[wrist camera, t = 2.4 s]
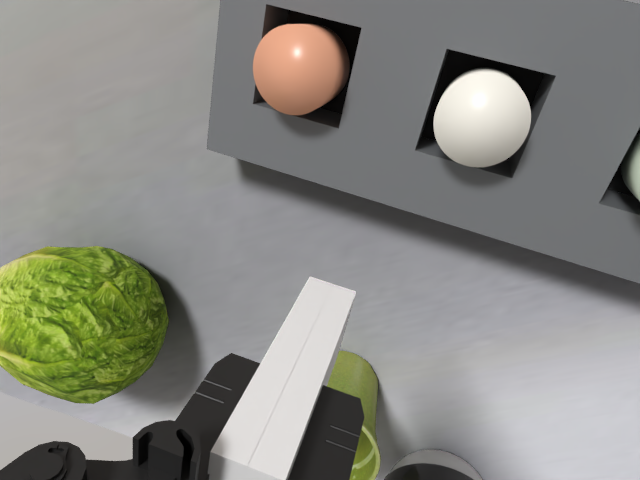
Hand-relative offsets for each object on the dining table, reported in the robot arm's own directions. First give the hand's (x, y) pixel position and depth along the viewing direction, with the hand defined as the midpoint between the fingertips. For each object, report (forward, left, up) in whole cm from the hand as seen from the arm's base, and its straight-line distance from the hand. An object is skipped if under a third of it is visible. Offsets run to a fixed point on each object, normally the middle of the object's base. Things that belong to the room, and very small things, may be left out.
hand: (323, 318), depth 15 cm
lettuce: (+27, +23, -22) cm, 41 cm away
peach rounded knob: (+8, -4, -19) cm, 21 cm away
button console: (-3, -4, -21) cm, 22 cm away
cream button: (-3, -4, -19) cm, 20 cm away
